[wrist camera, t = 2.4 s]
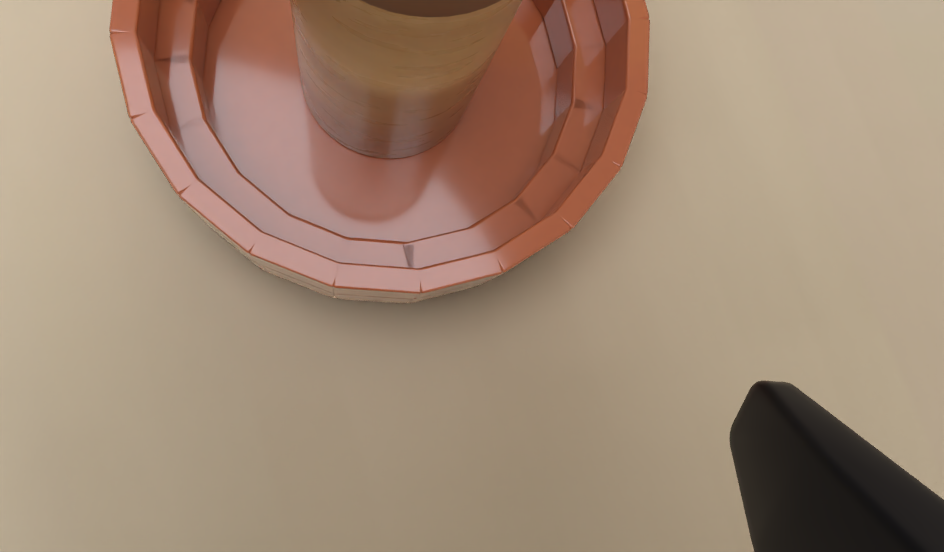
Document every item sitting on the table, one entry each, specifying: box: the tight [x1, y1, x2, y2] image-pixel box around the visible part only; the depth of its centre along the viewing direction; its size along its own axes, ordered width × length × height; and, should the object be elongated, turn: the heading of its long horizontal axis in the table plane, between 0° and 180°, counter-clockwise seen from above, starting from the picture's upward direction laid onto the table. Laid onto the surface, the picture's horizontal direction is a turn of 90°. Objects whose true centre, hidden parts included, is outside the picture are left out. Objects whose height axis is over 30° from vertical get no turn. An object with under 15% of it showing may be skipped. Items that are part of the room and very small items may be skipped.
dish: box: [109, 0, 650, 303], centre depth 21 cm, size 13×13×4 cm
